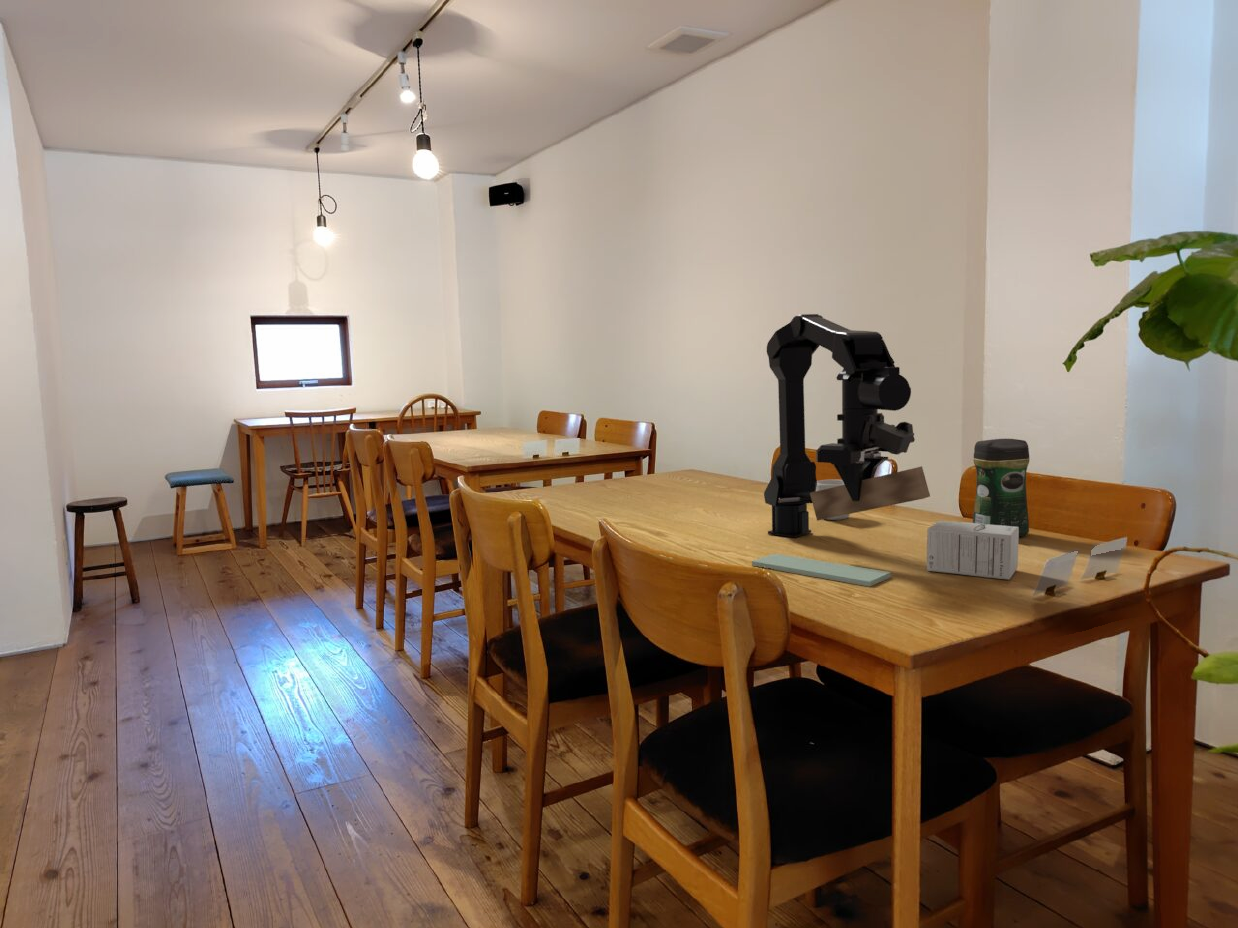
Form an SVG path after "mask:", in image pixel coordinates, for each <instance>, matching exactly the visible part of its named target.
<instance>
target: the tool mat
mask: <svg viewBox="0 0 1238 928" xmlns="http://www.w3.org/2000/svg"><path fill="white" fill-rule="evenodd" d="M752 565H753V566H752ZM751 566H752V567H757V566H758V567H757V568H762V567H763V566H765V567H764V569H768V568H771V569H770V570H773V569H774V570H775V571H780V572H785V573H791V574H797V575H802V576H803V575H804V576H807V577H808V576H809V577H814V578H818V579H824V580H831V581H835V582H841V583H847V584H852V585H853V584H854V585H859V586H864V587H868V588H869V587H872V586H874V585H876V584H878V583H880V582H883V581H885V580H887V579H890V578H891V577H892V572H891V571H887V570H886V571H884V570H879V569H871V568H867V567H860V566H855V565H854V566H853V565H848V564H842V563H835V562H830V561H824V560H823V561H822V560H818V559H817V560H816V559H811V558H807V557H806V558H805V557H799V556H794V555H787V554H780V553H772V554H769V555H767V556H766V555H765V556H763V557H760V558H757V559H754V560H751Z"/></svg>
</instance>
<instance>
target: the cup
mask: <svg viewBox="0 0 1238 928" xmlns="http://www.w3.org/2000/svg"><path fill="white" fill-rule="evenodd" d="M841 485H845V484H844V482H843V480H842V479H821V480H817V486H816V491H819V490H824V489H828V488H832V487H836V486H841ZM849 517H850V514H847V515H842V516H837V517H832V518H827V519H826V520H828V521H831V520H832V521H841V520H845V519H847V518H849Z"/></svg>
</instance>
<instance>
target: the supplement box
mask: <svg viewBox="0 0 1238 928" xmlns="http://www.w3.org/2000/svg"><path fill="white" fill-rule="evenodd" d="M926 537H927V538H926V539H927V540H926V571H928V572H935V573H945V574H954V575H955V574H956V575H961V576H962V575H963V576H964V575H965V576H970V577H971V576H973V577H980V578H988V579H995V580H996V579H998V580H1007V581H1009V580H1010V579H1011V578H1012V576H1013V575H1014V574H1015V572H1016V571H1017V570H1018V565H1019V564H1018V563H1019V537H1020V536H1019V527H1014V526H1002V525H989V524H978V523H973V522H963V521H951V520H950V521H949V520H937V521H936V522H935V523H934V524H932V526H930V527H928V528H927V535H926Z"/></svg>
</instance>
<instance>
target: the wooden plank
mask: <svg viewBox="0 0 1238 928" xmlns="http://www.w3.org/2000/svg"><path fill="white" fill-rule="evenodd" d="M810 496H811V499H812V503H811V504H812V506H813V507H812V508H813V511H814V515H815V517H816V521H817V522H818V521H821V520H828V519H827V518H832V517H837V516H842V515H847V514H849V515H850V514H855V513H860V512H864V511H865V512H866V511H870V510H874V509H876V510H877V509H879V508H885V507H889V506H890V507H891V506H894V505H900V504H904V503H908V502H914V501H919V500H924V499H926V498H930V497H931V494H930V491H929V486H928V483H927V479H926V476H925V472H924V468H923V466H918V467H914V468H913V467H912V468H909V469H905V470H901V471H897V472H893V473H888V474H884V475H880V476H874V478H870V479H866V480H862V484H861V493H860V498H859V501H853V500H852V499H851V497H850V495H849V493H848V491H847V489H846V486H845V485H841V486H836V487H832V488H828V489H824V490H819V491H815V492H812V493H810Z"/></svg>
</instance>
